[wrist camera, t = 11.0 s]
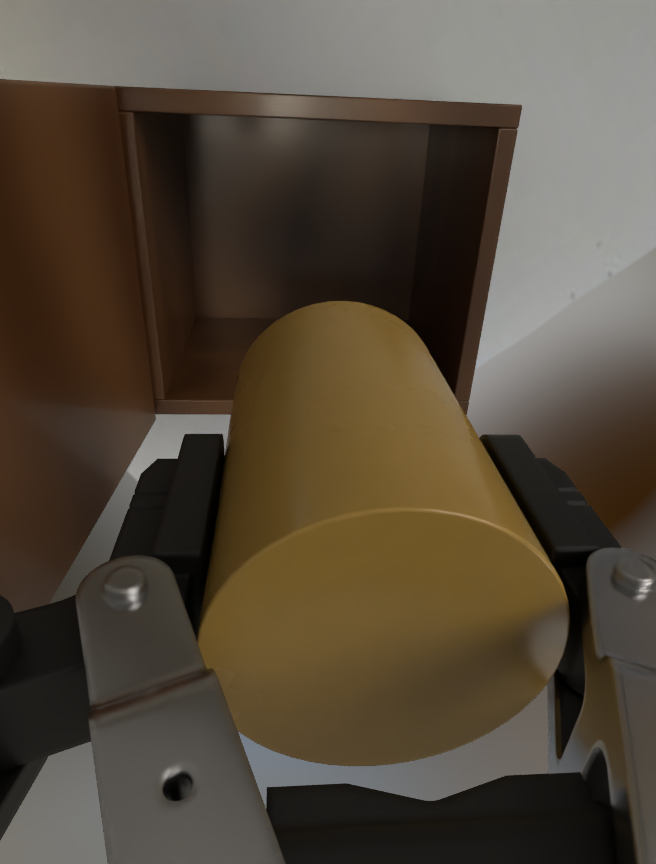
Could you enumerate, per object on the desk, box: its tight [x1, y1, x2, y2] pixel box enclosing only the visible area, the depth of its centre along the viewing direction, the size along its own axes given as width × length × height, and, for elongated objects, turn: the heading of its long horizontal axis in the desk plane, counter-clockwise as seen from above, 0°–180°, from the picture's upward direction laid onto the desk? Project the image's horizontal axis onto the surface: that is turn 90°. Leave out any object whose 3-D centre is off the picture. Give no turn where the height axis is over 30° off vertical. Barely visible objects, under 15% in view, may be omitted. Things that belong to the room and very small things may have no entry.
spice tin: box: [196, 301, 570, 766], centre depth 12 cm, size 5×5×8 cm
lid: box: [0, 79, 156, 613], centre depth 17 cm, size 16×14×1 cm
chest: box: [114, 86, 522, 415], centre depth 31 cm, size 16×14×13 cm
